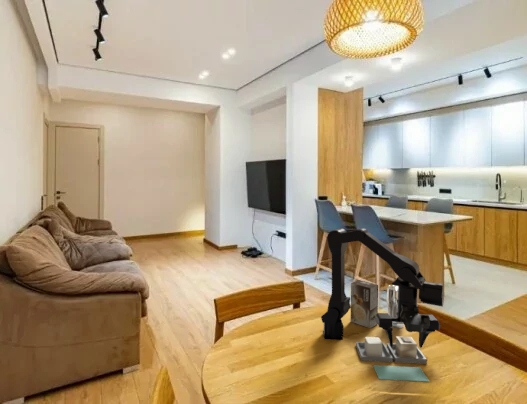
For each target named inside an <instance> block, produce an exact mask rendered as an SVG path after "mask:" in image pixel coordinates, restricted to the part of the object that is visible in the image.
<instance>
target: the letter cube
mask: <svg viewBox="0 0 527 404" xmlns="http://www.w3.org/2000/svg"><path fill="white" fill-rule="evenodd" d="M395 343H396V352H397V354H398V356H399V357H407V358H417V347H418V343H417V342H416V341H415V340H414V339H413V337H412V336H397V335H395Z"/></svg>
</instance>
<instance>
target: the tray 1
mask: <svg viewBox="0 0 527 404" xmlns="http://www.w3.org/2000/svg"><path fill="white" fill-rule="evenodd" d="M355 348H356V351H357V353H358V356H359V357H360V358H359V359H360V361H361V362H377V363H394V359H393V357H392V356H391V354H390V352H389V350H388V349H387V344H385V342H382V356H367V354H366V351H365V341H355Z"/></svg>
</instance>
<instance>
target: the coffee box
mask: <svg viewBox="0 0 527 404" xmlns="http://www.w3.org/2000/svg"><path fill="white" fill-rule="evenodd" d="M350 307H351V308H350V322H352V323H353V324H355V325H359V326H362V327H364V328H369V329H371V328H373V327H375V326H378V324H377V322H376V321H375V316H376V314H377V313H379V312H378V311H379V309H378V308H379V284H376V283H373V282H369V281H365V280H360V279H358V280H355V281H353V282H351V283H350Z"/></svg>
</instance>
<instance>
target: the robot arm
mask: <svg viewBox="0 0 527 404" xmlns="http://www.w3.org/2000/svg"><path fill="white" fill-rule="evenodd" d="M326 240H327V241H326V242H327V246H328V247H327V248H328V249H329V251H330V252H329V253H330V254H331V293H330V294H331V295H330V296H329V297H330V298H329V301H328V306H327V311H326V312H324V314H322V315H321V316H320V320H321V322H322V324H323V330H322V334H323V335H322V336H323V339H324V340H332V341H335V340H336V341H337V340H338V341H343V337H344V324H343V323H344V322H343V321H342V319H343V318H344V317H345V315H346V314H347V313H348V312H349V310H351V296H349V297H347V294H346V292H345V290H346V288H345V287H346V286H345V285H346V283H345V282H346V281H345V279H346V278H345V276H346V274H345V271H346V270H345V267H346V266H345V265H346V264H345V262H346V261H345V253H346V251H347V248H348V244H349V243H352V242H353V243H354V242H360V243H361V244H362V245H364V246H365V247H366V248H368V250H370V251H371V252H372V253H374V254H375V255H377V256H378V257H379V258H380V259H382V260H383V261H384V262H385V263H387V265H389V267H390V269H392V271H393V273H395V274H396V276H397V277H396V279H394V280H393V281H392V282H391V284H392V285H396V286H398V300H397V303H398V312H397V317H390V316H389V314H388V313H387V312H378V313H377V314H376V316H375V321H376V322H377V326H378V327H379V328H381V329H382V330H383V331H385V333H386V337H387V339H388V343H390V345H391V347H392V346H393V342H394V339H393V331H394V328H393V327H392V323H395V324H403V325H404V327H405V330H406V332H408V333H415V332H416V333H418V346H419V347H418V348H419V349H422V347H423V346H424V343H425V341H426V339H427V337H429V335H430V334H431V333H435V332H436V331H439V330H441V323H440V321H439V320H438V319H437V318H436V317H435V316H434V315H433V314H420V312H419V305H418V299H419V301H420V302H422V304H426V305H430V306H431V305H432V306H437V307H441V308H443V307H444V301H445V292H444V284H443V283H440V282H439V283H437V282H436V283H435V282H429V281H428V282H427V281H426V278H425V277H424V276H423V273H421V271H420V267H419V266H420V265H419V263H417V262H416V261H415V260H413V259H411V258H409V257H407V256H405V255H402V254H400V253H398V252H396V251H395V250H393V248H391V247H389V246H388V245H386V244H385V243H384V242H382V241H381V240H379V238H377V237H376V236H374V235H373V234H372V233H370V232H369V231H368V230H367V229H366V228H363V227H362V228H357V229H348V230H347V229H345V228H336V229H334V230H331V231H330V232H329V233H328V234H327V235H326Z"/></svg>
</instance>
